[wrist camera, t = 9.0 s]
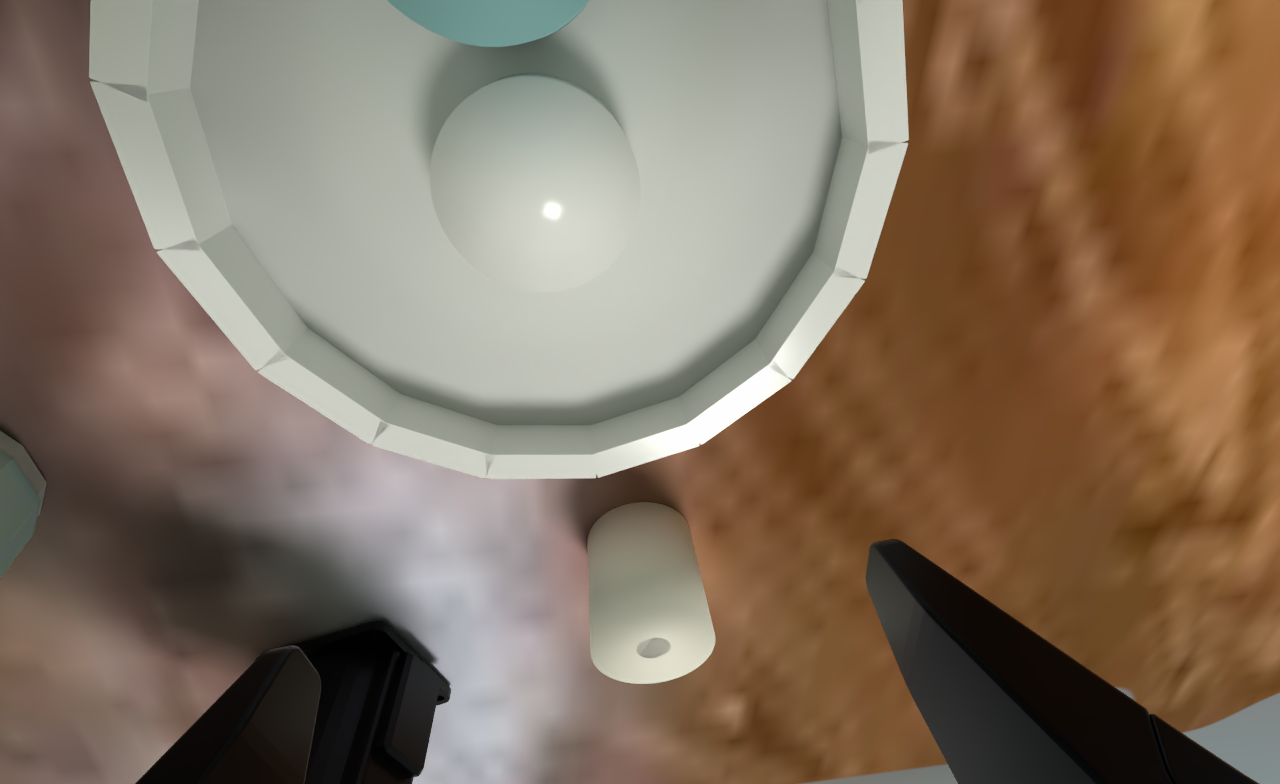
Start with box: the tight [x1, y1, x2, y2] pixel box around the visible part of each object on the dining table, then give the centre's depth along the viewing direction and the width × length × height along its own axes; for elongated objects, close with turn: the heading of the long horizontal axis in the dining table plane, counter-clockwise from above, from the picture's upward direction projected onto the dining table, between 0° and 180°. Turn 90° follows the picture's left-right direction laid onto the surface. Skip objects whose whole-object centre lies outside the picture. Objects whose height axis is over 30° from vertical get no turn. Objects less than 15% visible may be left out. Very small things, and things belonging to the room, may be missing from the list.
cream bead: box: [587, 502, 715, 684], centre depth 22 cm, size 4×4×5 cm
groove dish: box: [89, 0, 909, 479], centre depth 15 cm, size 18×18×2 cm
